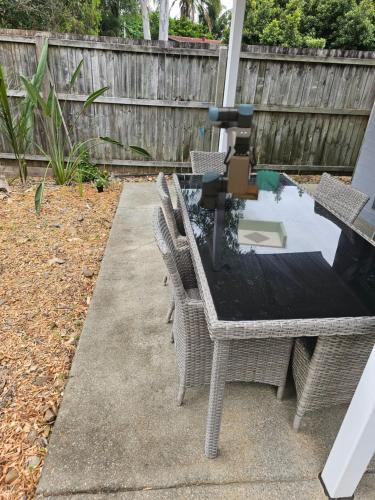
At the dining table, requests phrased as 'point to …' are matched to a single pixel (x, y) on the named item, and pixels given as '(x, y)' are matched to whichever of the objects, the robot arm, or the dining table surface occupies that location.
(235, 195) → the diary
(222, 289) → the dining table surface
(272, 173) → the basket
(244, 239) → the corner tray
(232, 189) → the wooden block
